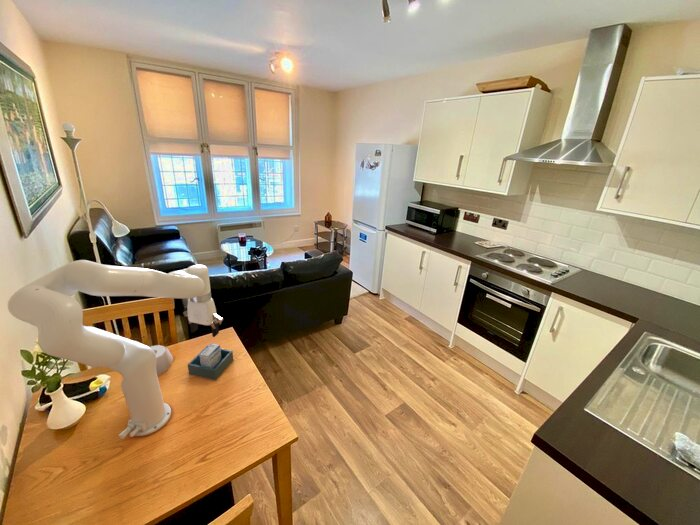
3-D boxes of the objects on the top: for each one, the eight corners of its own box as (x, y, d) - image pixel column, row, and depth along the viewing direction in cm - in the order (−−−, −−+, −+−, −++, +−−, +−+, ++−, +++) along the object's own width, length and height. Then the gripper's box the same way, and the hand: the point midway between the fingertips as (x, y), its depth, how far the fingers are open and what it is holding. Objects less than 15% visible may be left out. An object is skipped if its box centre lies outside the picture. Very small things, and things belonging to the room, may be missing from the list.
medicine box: (210, 372, 121) (208, 356, 118) (201, 370, 122) (198, 354, 118) (222, 360, 128) (220, 344, 125) (213, 358, 129) (211, 342, 126)
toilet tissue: (177, 355, 130) (174, 339, 127) (161, 377, 118) (157, 360, 115) (156, 354, 129) (152, 339, 126) (138, 376, 117) (133, 360, 114)
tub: (215, 380, 118) (214, 370, 116) (189, 374, 120) (187, 364, 118) (233, 359, 130) (232, 350, 128) (208, 354, 132) (207, 345, 130)
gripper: (173, 296, 109) (180, 334, 116) (214, 304, 107) (218, 342, 113) (188, 288, 116) (193, 324, 123) (226, 295, 113) (229, 331, 120)
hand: (205, 332), depth 118 cm, fingers open, 9 cm apart
